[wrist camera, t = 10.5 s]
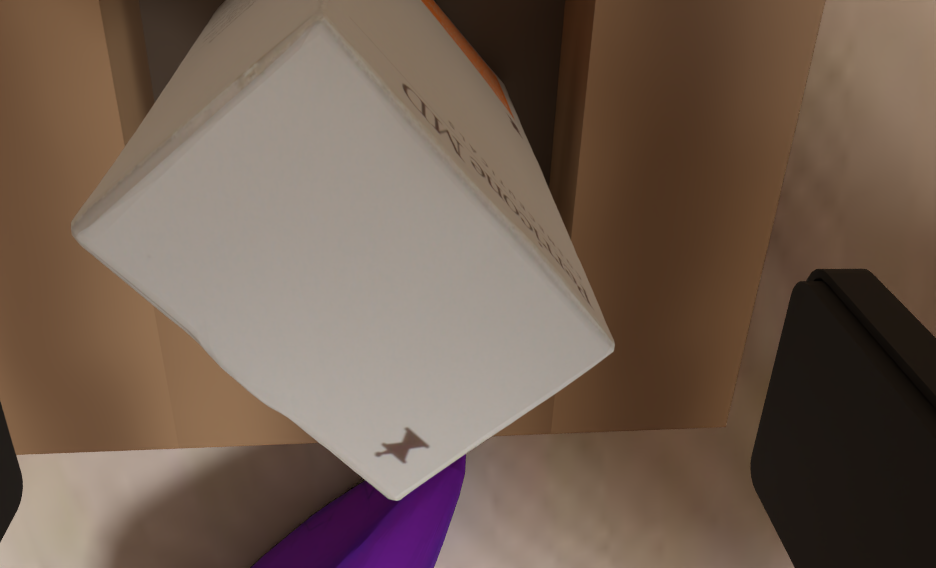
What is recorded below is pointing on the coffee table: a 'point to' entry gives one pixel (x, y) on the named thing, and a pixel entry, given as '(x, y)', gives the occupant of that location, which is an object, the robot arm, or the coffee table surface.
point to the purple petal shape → (374, 528)
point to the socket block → (552, 141)
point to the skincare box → (352, 231)
